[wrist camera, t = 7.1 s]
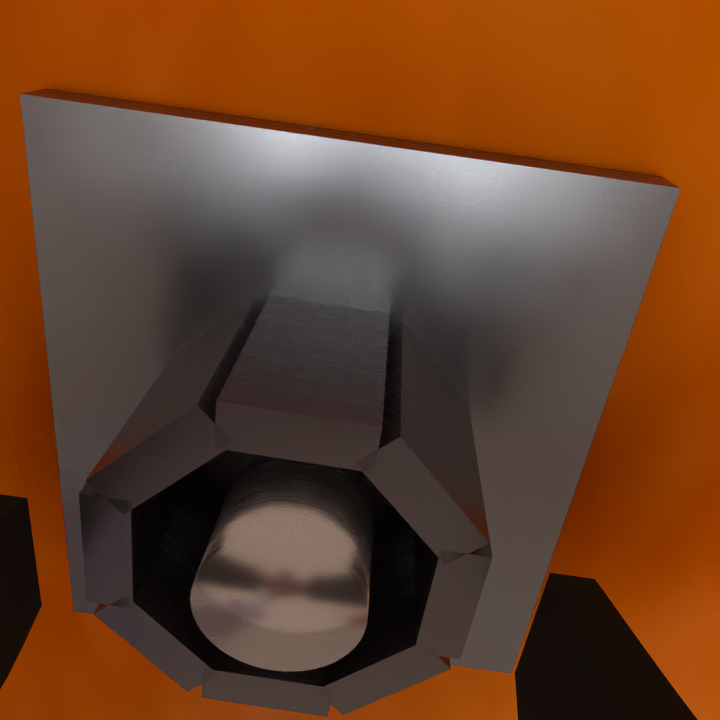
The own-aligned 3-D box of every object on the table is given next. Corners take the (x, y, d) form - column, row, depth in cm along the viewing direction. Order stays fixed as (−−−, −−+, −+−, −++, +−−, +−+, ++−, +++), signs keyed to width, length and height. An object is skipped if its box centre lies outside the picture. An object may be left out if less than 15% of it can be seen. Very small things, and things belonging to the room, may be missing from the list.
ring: (430, 572, 14) (436, 733, 11) (163, 530, 14) (91, 680, 11) (493, 329, 11) (526, 449, 8) (165, 278, 11) (71, 378, 8)
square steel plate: (506, 643, 16) (542, 876, 11) (88, 584, 16) (-31, 794, 11) (662, 177, 11) (833, 280, 6) (46, 88, 11) (-198, 134, 6)
